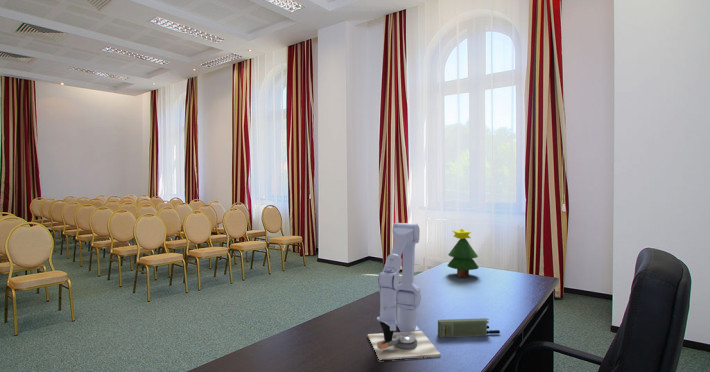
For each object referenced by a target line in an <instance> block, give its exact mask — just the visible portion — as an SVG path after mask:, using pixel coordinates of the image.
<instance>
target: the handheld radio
mask: <svg viewBox="0 0 710 372" xmlns="http://www.w3.org/2000/svg"><path fill="white" fill-rule="evenodd" d="M489 320H490V319H489V318H487V317H486V318H485V317H484V318H482V317H481V318H459V319H458V318H455V319H454V318H453V319H452V318H451V319H437V337H438V338H440V339H441V338H466V337H469V338H470V337H487V335H491V334H492V335H493V334H494V335H496V334H501V331H500V330H499V329H496V330H495V329H491V330H489V329H490V326H489V325H488V324H489V323H490V322H489Z"/></svg>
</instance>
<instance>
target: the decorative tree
mask: <svg viewBox="0 0 710 372" xmlns="http://www.w3.org/2000/svg"><path fill="white" fill-rule="evenodd" d="M452 232H453V233H454V235H452V237H454V238H456V239H459V240H458V241H457V243H456V244H455V245H454V246H453V248H452V249H451V250H450V252H449V253H448V256H449V257H452V259H450V261H449V262H448V264H447V266H446V267H447V268H451V269H454V270H456V277H458V276H459V278H469V277H470V271H473V270H478V269H479V265H478V264H477V263H476V261H475V260H474V259H476V258H478V257H479V256H478V254H477V252H476V251H475V250H474V249H473V247H472V245H471V244H470V242H469V241H468V239H471V237H470V234H471V233H472V232H471V231H468V230H465V229H463V228H461V229H460V230H456V229H455V230H452Z"/></svg>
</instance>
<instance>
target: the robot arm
mask: <svg viewBox="0 0 710 372" xmlns="http://www.w3.org/2000/svg"><path fill="white" fill-rule="evenodd" d="M392 235H393V239H394V241H393V245H392V250H391V253H390V254H388V256H387V257H386V260H385V263H384V265H383V270H382V271H381V272H379V273H378V277H377V286H378V292H379V293H380V295H379V300H380V302H379V303H380V305H379V307H380V308H379V309H380V310H379V314H380V315H379V316H377V317H376V320H377V321H378V322H379V325H380V327H381V329H382V333H383V334H384V340H385V341H386V340H389V339H392V336H393V333H395V331H396V332H397V328H398V330H399V332H410V331H421V329H420V328H419V327H418V326H417V308H418V307H420V305H421V299H422V295H421V288H420V287H419V286H418V285H416V284H415V282H414V279H415V278H414V277H415V248H416V244H419V242H420V226H419V224H418V223H406V222H405V223H404V222H395V223H393V225H392ZM401 266H402V271H401V272H402V273H401V283H399V282H400V270H401Z"/></svg>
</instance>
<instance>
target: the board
mask: <svg viewBox="0 0 710 372" xmlns="http://www.w3.org/2000/svg"><path fill="white" fill-rule="evenodd" d="M400 333H409V334H412V335H414V336H415V342H413V343H411V344H403V343H398V344H395V345H392V346H390V347H388V348H385V349H382V350H381V349H379V348H377V342H380V341H383V340H384V334H383V332H382V333H381V332H380V333H368V334H367V338H368V341H369V340H370V341H369V342H371V343H370V345H371V344H372V345H371V347H372V346H373V347H372V349H373V348H374V349H373V351H374V350H375V352H376V354H375V355H377V356H376V357H378V358H377V360H378V359H379V360H382V359H399V358H400V359H401V358H418V359H427V357H428V358H429V357H431V358H441V357H442V356H441V354H442V353H441V352H440V351H439V350H438V348H436V346H435V345H434V344H433V343H432V342H431V340H430V338H428V337H427V336H426V334H425V333H424V331H422V330H419V331H407V332H401V331H399V332H398V331H396V332H395V331H394V332H393V336H392V338H395V337H396V335H397V334H400ZM384 341H385V340H384ZM375 352H374V353H375ZM423 357H424V358H423ZM429 359H430V358H429ZM379 360H378V361H379Z"/></svg>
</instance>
